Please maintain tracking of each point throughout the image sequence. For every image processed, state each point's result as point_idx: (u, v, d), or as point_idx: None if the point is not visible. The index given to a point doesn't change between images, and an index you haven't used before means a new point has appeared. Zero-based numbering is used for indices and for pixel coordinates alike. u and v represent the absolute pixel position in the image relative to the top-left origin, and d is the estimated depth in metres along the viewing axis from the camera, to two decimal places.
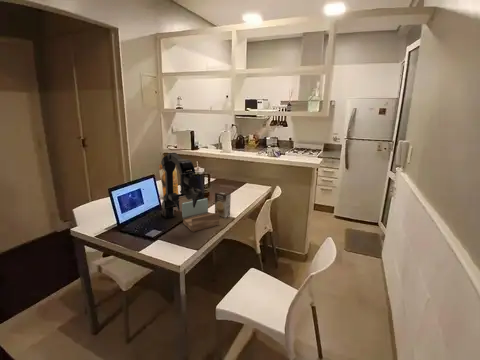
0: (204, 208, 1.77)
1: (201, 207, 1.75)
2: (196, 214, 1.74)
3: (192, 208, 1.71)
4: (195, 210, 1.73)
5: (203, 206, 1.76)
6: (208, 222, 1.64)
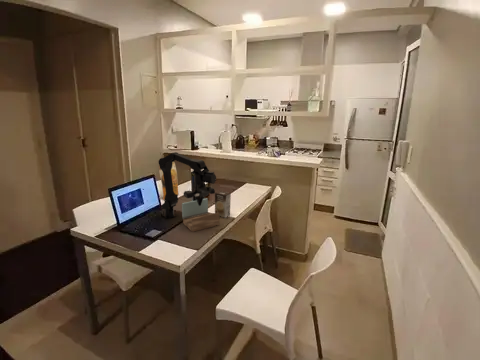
0: (204, 208, 1.77)
1: (201, 207, 1.75)
2: (196, 214, 1.74)
3: (192, 208, 1.71)
4: (195, 210, 1.73)
5: (203, 206, 1.76)
6: (208, 222, 1.64)
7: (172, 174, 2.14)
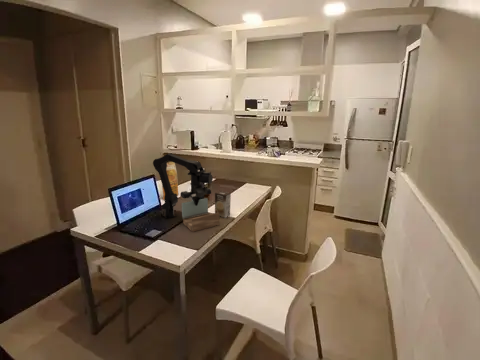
0: (204, 208, 1.77)
1: (201, 207, 1.75)
2: (196, 214, 1.74)
3: (192, 208, 1.72)
4: (195, 210, 1.73)
5: (203, 206, 1.76)
6: (208, 222, 1.64)
7: (172, 174, 2.14)
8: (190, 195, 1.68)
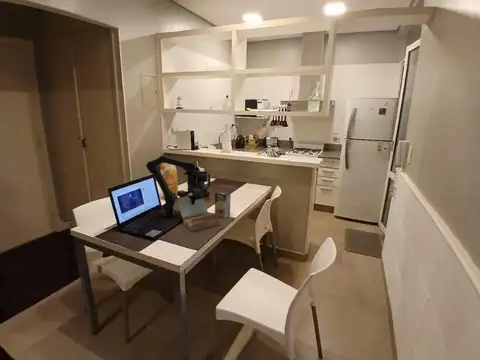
0: (202, 207, 1.79)
1: (199, 206, 1.78)
2: (196, 213, 1.75)
3: (190, 207, 1.74)
4: (193, 209, 1.75)
5: (201, 205, 1.79)
6: (208, 222, 1.64)
7: (172, 174, 2.14)
8: (187, 194, 1.73)
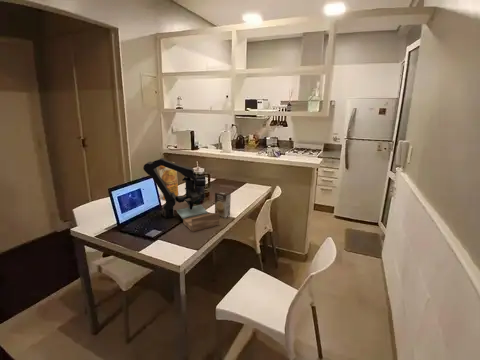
0: (201, 209, 1.81)
1: (197, 209, 1.80)
2: (195, 213, 1.75)
3: (188, 211, 1.77)
4: (192, 211, 1.77)
5: (199, 209, 1.81)
6: (208, 222, 1.64)
7: (172, 174, 2.14)
8: (185, 199, 1.77)
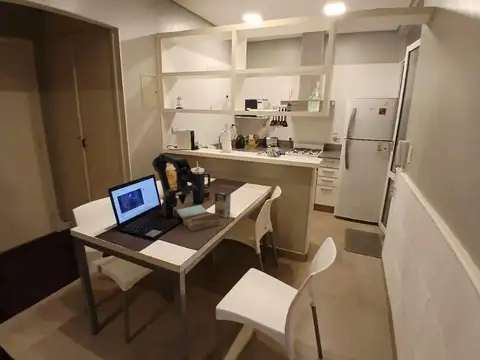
0: (201, 209, 1.81)
1: (197, 209, 1.80)
2: (195, 213, 1.75)
3: (188, 211, 1.77)
4: (192, 211, 1.77)
5: (199, 209, 1.81)
6: (208, 222, 1.64)
7: (172, 174, 2.14)
8: (176, 193, 1.63)
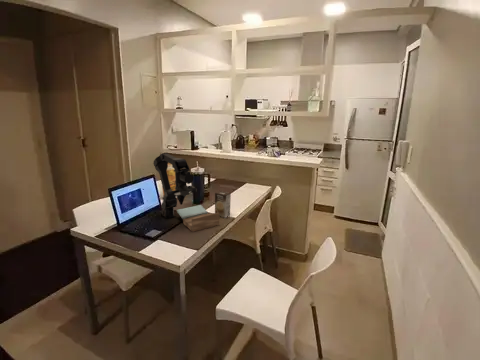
0: (201, 209, 1.81)
1: (197, 209, 1.80)
2: (195, 213, 1.75)
3: (188, 211, 1.77)
4: (192, 211, 1.77)
5: (199, 209, 1.81)
6: (208, 222, 1.64)
7: (172, 174, 2.14)
8: None
